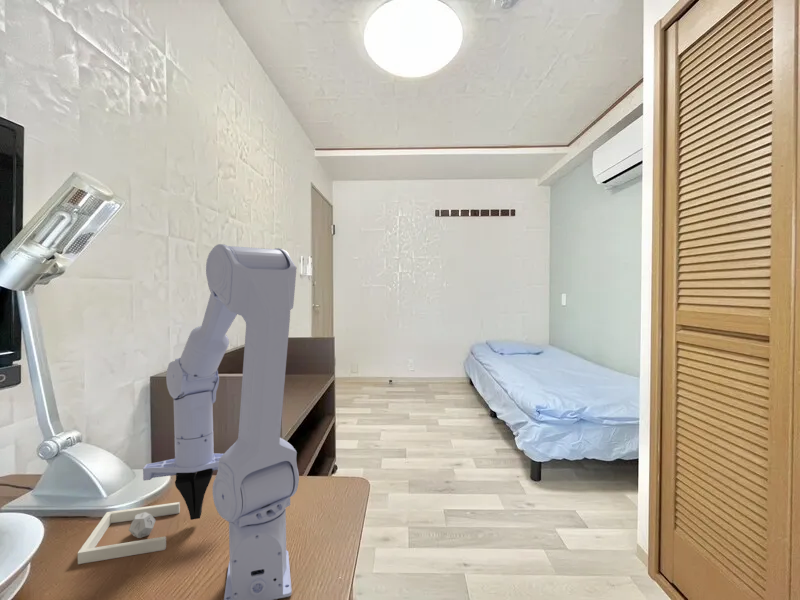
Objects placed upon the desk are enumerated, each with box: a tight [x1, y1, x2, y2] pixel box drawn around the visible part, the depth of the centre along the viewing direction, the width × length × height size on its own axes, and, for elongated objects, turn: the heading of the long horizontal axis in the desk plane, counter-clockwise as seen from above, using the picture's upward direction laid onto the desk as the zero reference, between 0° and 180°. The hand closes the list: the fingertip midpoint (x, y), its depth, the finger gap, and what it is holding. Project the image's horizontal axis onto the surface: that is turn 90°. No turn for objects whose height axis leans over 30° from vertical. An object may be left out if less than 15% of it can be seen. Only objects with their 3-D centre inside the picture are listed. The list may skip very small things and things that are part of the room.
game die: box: [128, 512, 156, 539], centre depth 69 cm, size 4×4×3 cm
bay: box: [77, 501, 181, 565], centre depth 68 cm, size 12×11×2 cm
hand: (196, 516), depth 71 cm, fingers closed
